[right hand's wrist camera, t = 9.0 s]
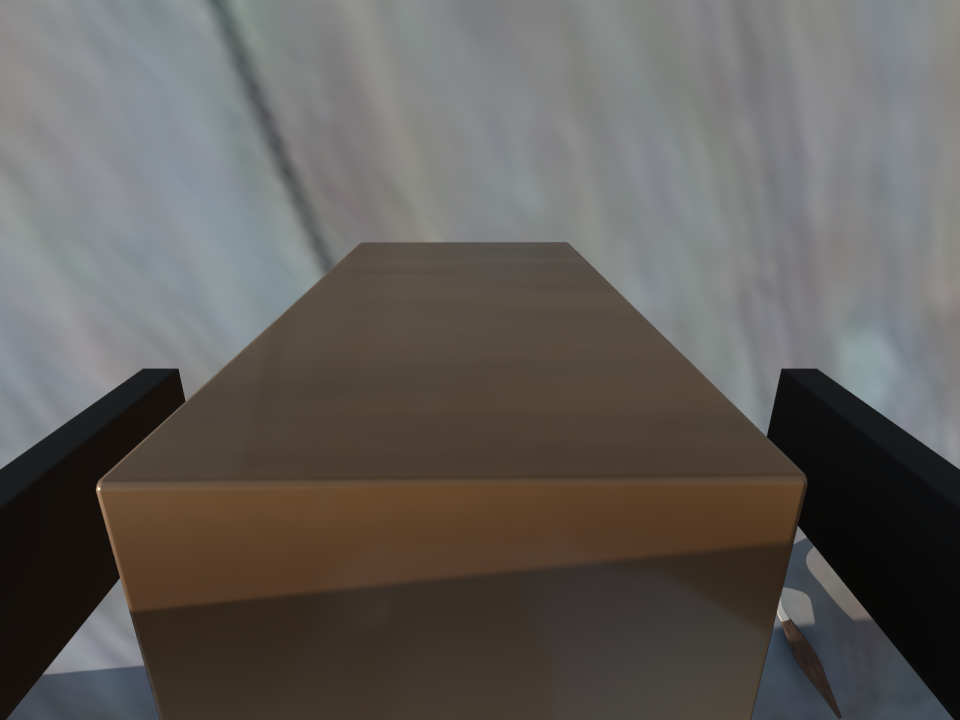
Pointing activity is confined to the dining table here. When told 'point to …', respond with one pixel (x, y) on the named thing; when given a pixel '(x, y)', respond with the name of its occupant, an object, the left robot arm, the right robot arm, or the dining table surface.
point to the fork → (807, 658)
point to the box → (455, 508)
